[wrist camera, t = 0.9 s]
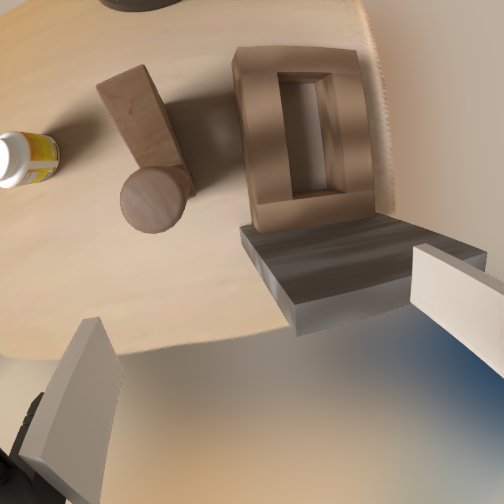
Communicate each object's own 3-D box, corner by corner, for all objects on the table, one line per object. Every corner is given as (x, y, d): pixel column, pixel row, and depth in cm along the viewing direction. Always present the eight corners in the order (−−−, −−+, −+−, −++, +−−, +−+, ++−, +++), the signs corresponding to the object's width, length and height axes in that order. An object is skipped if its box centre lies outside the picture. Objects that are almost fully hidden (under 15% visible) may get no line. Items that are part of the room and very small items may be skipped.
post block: (218, 64, 29) (249, -42, 10) (347, 63, 31) (461, 9, 12) (241, 244, 35) (296, 336, 16) (364, 223, 37) (484, 276, 18)
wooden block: (164, 103, 29) (133, 40, 12) (197, 192, 32) (199, 222, 15) (133, 116, 29) (72, 70, 12) (166, 205, 32) (135, 248, 15)
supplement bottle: (34, 129, 26) (-14, 122, 17) (68, 143, 28) (24, 138, 18) (19, 173, 27) (-31, 180, 18) (51, 188, 29) (5, 199, 19)
